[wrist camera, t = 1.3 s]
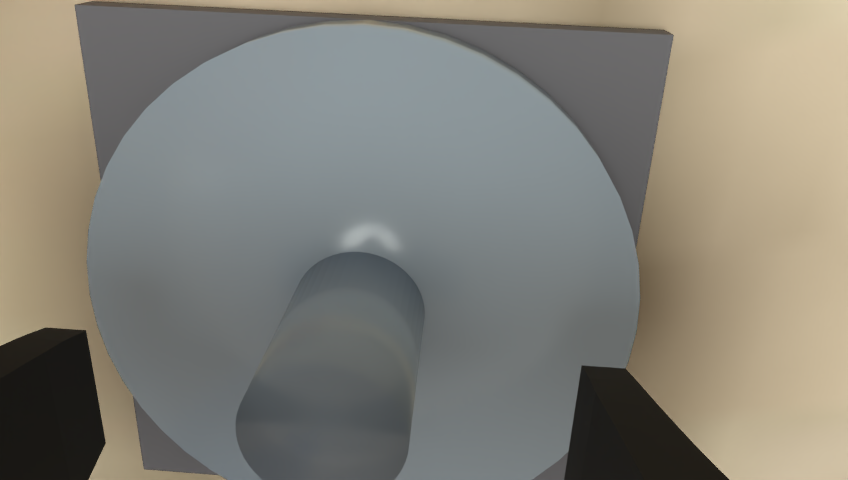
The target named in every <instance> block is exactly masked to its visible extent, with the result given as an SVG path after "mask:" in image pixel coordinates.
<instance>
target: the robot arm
mask: <svg viewBox="0 0 848 480" xmlns="http://www.w3.org/2000/svg"><path fill="white" fill-rule="evenodd" d="M105 443H106V442H105V437H104V431H103V425H102V419H101V414H100V408H99V402H98V396H97V391H96V385H95V379H94V373H93V368H92V362H91V356H90V350H89V345H88V339H87V333H86V330H71V329H57V328H43V329H41V330H38V331H35V332H32V333H30V334H27V335H25V336H22V337H20V338H18V339H15V340H13V341H11V342H8V343H6V344H4V345H2V346H0V480H88V479H89V477H90V475H91V473H92V471H93V469H94V466H95V464H96V462H97V460H98V458H99V456H100V454H101V452H102V450H103V447H104V445H105ZM564 480H729V479H728V478H727V477H726V476H725V475H724V474H723V473H722V472H721V471H720V470H719V469H718V468H717V467H716V466H715V465H714V464H713V463H712V462H711V461H710V460H709V459H708V458H707V457H706V456H705V455H704V454H703V453H702V452H701V451H700V450H699V449H698V448H697V447H696V446H695V445H694V444H693V443H692V441H691V440H690V439H689V438H688V437H687V436H686V435H685V434H684V433H683V432H682V431H681V430H680V429H679V428H678V426H677V425H676V424H675V423H674V422H673V421H672V420H671V419H670V418H669V417H668V415H667V414H666V413H665V412H664V411H663V410H662V409H661V408H660V407H659V406H658V404H657V403H656V402H655V401H654V400H653V399H652V398H651V397H650V395H649V394H648V393H647V392H646V391H645V390H644V389H643V388H642V386H641V385H640V384H639V383H638V382H637V381H636V380H635V379H634V377H633V376H632V375H631V374H630V373H629V372H628V371H627V370H626V369H625V368H612V367H597V366H583V365H582V366H581V373H580V379H579V386H578V392H577V399H576V405H575V412H574V418H573V425H572V431H571V438H570V444H569V451H568V457H567V464H566V470H565V477H564Z"/></svg>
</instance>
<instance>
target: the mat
mask: <svg viewBox="0 0 848 480" xmlns="http://www.w3.org/2000/svg"><path fill="white" fill-rule="evenodd" d="M75 10H76V17H77V24H78V31H79V37H80V44H81V51H82V57H83V64H84V71H85V77H86V84H87V91H88V98H89V104H90V111H91V118H92V124H93V131H94V138H95V144H96V151H97V158H98V165H99V171H100V178H101V180H102V177H103V175H104V172H105V169H106V167H107V165H108V163H109V161H110V160H111V158H112V156H113V154H114V152H115V151H116V149H117V147H118V145H119V144H120V142H121V140H122V138H123V137H124V135H125V134H126V133H127V131H128V130H129V129H130V128H131V126H132V125H133V124H134V123H135V121H136V120H137V119H138V118H139V116H140V115H141V114H142V113H143V111H144V110H145V109H146V108H147V107H148V106H149V105H150V104H151V103H152V102H153V101H154V100H156V99H157V98H158V97H159V96H160V95H161V94H162V93H163V92H164V91H165V90H166V89H168V88H169V87H170V86H171V85H172V84H173V83H175V82H176V81H178V80H179V79H181V78H182V77H184V76H185V75H187V74H188V73H190V72H191V71H192V70H194V69H195V68H197V67H198V66H200V65H201V64H203V63H205V62H207V61H209V60H210V59H212V58H214V57H216V56H218V55H220V54H222V53H224V52H226V51H228V50H231V49H233V48H235V47H237V46H239V45H241V44H243V43H245V42H248V41H250V40H252V39H254V38H256V37H259V36H262V35H265V34H269V33H272V32H275V31H279V30H282V29H285V28H288V27H292V26H297V25H304V24H310V23H316V22H323V21H329V20H376V21H384V22H393V23H401V24H409V25H413V26H416V27H420V28H424V29H428V30H432V31H436V32H439V33H443V34H447V35H449V36H452V37H454V38H457V39H459V40H461V41H464V42H466V43H469V44H471V45H474V46H476V47H479V48H481V49H483V50H485V51H487V52H488V53H490V54H492V55H494V56H495V57H497V58H499V59H501V60H502V61H504V62H506V63H507V64H509V65H511V66H513V67H514V68H516V69H517V70H519V71H520V72H521V73H523V74H524V75H525V76H526V77H528V78H529V79H530V80H532V81H533V82H534V83H535V84H537V85H538V86H539V87H541V88H542V89H543V90H544V91H546V92H547V93H548V94H549V95H550V96H551V97H552V98H553V99H554V100H555V101H556V102H557V103H558V104H559V105H560V106H561V107H562V109H563V110H564V111H565V112H566V113H567V114H568V115H569V116H570V117H571V118H572V119H573V120H574V122H575V123H576V124H577V126H578V127H579V128H580V130H581V131H582V132H583V134H584V135H585V137H586V138H587V139H588V141H589V142H590V143H591V145H592V146H593V148H594V149H595V151H596V153H597V155H598V157H599V158H600V160H601V162H602V164H603V166H604V168H605V170H606V171H607V173H608V175H609V177H610V179H611V181H612V183H613V185H614V187H615V188H616V190H617V192H618V194H619V196H620V198H621V201H622V204H623V206H624V209H625V212H626V215H627V218H628V221H629V223H630V226H631V229H632V232H633V237H634V243H635V248H636V245H637V239H638V234H639V228H640V222H641V217H642V211H643V205H644V200H645V194H646V188H647V183H648V177H649V171H650V166H651V160H652V154H653V149H654V143H655V137H656V132H657V126H658V120H659V115H660V109H661V103H662V98H663V92H664V86H665V81H666V75H667V69H668V64H669V58H670V52H671V47H672V41H673V34H671V33H669V32H667V31H665V30H651V29H631V28H611V27H591V26H572V25H552V24H532V23H512V22H492V21H472V20H452V19H432V18H413V17H393V16H373V15H353V14H333V13H313V12H293V11H273V10H253V9H234V8H214V7H194V6H174V5H154V4H134V3H114V2H94V1H91V2H86V3H81V4H76V5H75ZM133 399H134V406H135V413H136V419H137V426H138V433H139V439H140V446H141V453H142V460H143V466H144V469H147V470H160V471H173V472H186V473H198V474H211V475H218V474H217V473H215V472H213V471H211V470H210V469H209V468H207V467H206V466H204V465H203V464H202V463H200V462H199V461H198V460H196V459H195V458H193V457H192V456H191V455H189V454H188V453H187V452H185V451H184V450H183V449H182V448H181V447H180V446H179V445H177V444H176V443H175V442H174V441H173V440H172V439H171V438H170V437H169V436H167V435H166V434H165V433H164V432H163V431H162V430H161V429H160V428H159V427H158V425H157V424H156V423H155V422H154V421H153V420H152V419H151V418H150V417H149V415H148V414H147V413H146V412H145V411H144V410H143V409H142V408H141V406H140V405H139V403H138V402H137V400H136V399H135V398H134V396H133ZM567 457H568V452H567V453H566V454H565V455H564V456H563V457H562V458H561V459H560V460H559V461H557V462H556V463H555V464H553V465H552V466H550V467H549V468H548V469H546V470H545V471H544V472H542V473H541V474H539V475H538V476H537V477H535V478H534V479H532V480H564V477H565V470H566V464H567Z"/></svg>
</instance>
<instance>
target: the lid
mask: <svg viewBox="0 0 848 480" xmlns="http://www.w3.org/2000/svg"><path fill="white" fill-rule="evenodd" d="M87 270H88V281H89V291H90V297H91V301H92V305H93V310H94V314H95V318H96V322H97V326H98V328H99V331H100V333H101V336H102V339H103V341H104V344H105V346H106V349H107V352H108V354H109V356H110V358H111V360H112V362H113V363H114V365H115V367H116V369H117V371H118V373H119V375H120V377H121V378H122V380H123V382H124V383H125V385H126V386H127V388H128V389H129V391H130V392H131V393H132V395H133V396H134V398H135V399H136V400H137V402H138V403H139V405H140V406H141V408H142V409H143V410H144V411H145V412H146V413H147V414H148V415H149V417H150V418H151V419H152V420H153V421H154V422H155V423H156V424H157V425H158V427H159V428H160V429H161V430H162V431H163V432H164V433H165V434H166V435H167V436H169V437H170V438H171V439H172V440H173V441H174V442H175V443H176V444H177V445H179V446H180V447H181V448H182V449H183V450H184V451H185V452H187V453H188V454H189V455H191V456H192V457H193V458H195V459H196V460H198V461H199V462H200V463H202V464H203V465H204V466H206V467H207V468H209V469H210V470H211V471H213V472H215V473H217V474H218V475H220V476H222V477H224V478H225V479H227V480H532V479H534V478H535V477H537V476H538V475H539V474H541V473H542V472H544V471H545V470H546V469H548V468H549V467H550V466H552V465H553V464H555V463H556V462H557V461H559V460H560V459H561V458H562V457H563V456H564V455H565V454H566V453H567V452H568V451H569V444H570V438H571V431H572V425H573V418H574V412H575V405H576V399H577V392H578V386H579V379H580V373H581V366H582V365H583V366H597V367H612V368H626V366H627V364H628V361H629V358H630V354H631V350H632V346H633V343H634V339H635V335H636V331H637V323H638V314H639V305H640V281H639V263H638V258H637V253H636V248H635V243H634V237H633V232H632V229H631V226H630V223H629V221H628V218H627V215H626V212H625V209H624V206H623V204H622V201H621V198H620V196H619V194H618V192H617V190H616V188H615V187H614V185H613V183H612V181H611V179H610V177H609V175H608V173H607V171H606V170H605V168H604V166H603V164H602V162H601V160H600V158H599V157H598V155H597V153H596V151H595V149H594V148H593V146H592V145H591V143H590V142H589V141H588V139H587V138H586V137H585V135H584V134H583V132H582V131H581V130H580V128H579V127H578V126H577V124H576V123H575V122H574V120H573V119H572V118H571V117H570V116H569V115H568V114H567V113H566V112H565V111H564V110H563V109H562V107H561V106H560V105H559V104H558V103H557V102H556V101H555V100H554V99H553V98H552V97H551V96H550V95H549V94H548V93H547V92H546V91H544V90H543V89H542V88H541V87H539V86H538V85H537V84H535V83H534V82H533V81H532V80H530V79H529V78H528V77H526V76H525V75H524V74H523V73H521V72H520V71H519V70H517V69H516V68H514V67H513V66H511V65H509V64H507V63H506V62H504V61H502V60H501V59H499V58H497V57H495V56H494V55H492V54H490V53H488V52H487V51H485V50H483V49H481V48H479V47H476V46H474V45H471V44H469V43H466V42H464V41H461V40H459V39H457V38H454V37H452V36H449V35H447V34H443V33H439V32H436V31H432V30H428V29H424V28H420V27H416V26H413V25H409V24H401V23H393V22H384V21H376V20H329V21H323V22H316V23H310V24H304V25H297V26H292V27H288V28H285V29H282V30H279V31H275V32H272V33H269V34H265V35H262V36H259V37H256V38H254V39H252V40H250V41H248V42H245V43H243V44H241V45H239V46H237V47H235V48H233V49H231V50H228V51H226V52H224V53H222V54H220V55H218V56H216V57H214V58H212V59H210V60H209V61H207V62H205V63H203V64H201V65H200V66H198V67H197V68H195V69H194V70H192V71H191V72H190V73H188V74H187V75H185V76H184V77H182V78H181V79H179V80H178V81H176V82H175V83H173V84H172V85H171V86H170V87H169V88H168V89H166V90H165V91H164V92H163V93H162V94H161V95H160V96H159V97H158V98H157V99H156V100H154V101H153V102H152V103H151V104H150V105H149V106H148V107H147V108H146V109H145V110H144V111H143V113H142V114H141V115H140V116H139V118H138V119H137V120H136V121H135V123H134V124H133V125H132V126H131V128H130V129H129V130H128V131H127V133H126V134H125V135H124V137H123V138H122V140H121V142H120V144H119V145H118V147H117V149H116V151H115V152H114V154H113V156H112V158H111V160H110V161H109V163H108V165H107V167H106V169H105V172H104V175H103V177H102V180H101V183H100V186H99V188H98V191H97V194H96V196H95V200H94V205H93V210H92V215H91V219H90V224H89V229H88V247H87Z"/></svg>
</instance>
